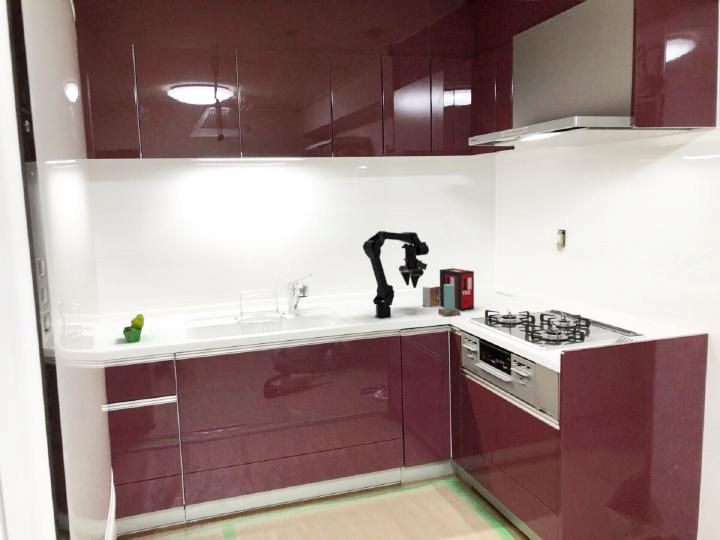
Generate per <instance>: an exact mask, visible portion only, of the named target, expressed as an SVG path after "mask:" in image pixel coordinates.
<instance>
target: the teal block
mask: <svg viewBox="0 0 720 540" xmlns="http://www.w3.org/2000/svg"><path fill="white" fill-rule="evenodd" d="M444 310H445V311H451V310H455V298H454V285H453V284H444Z"/></svg>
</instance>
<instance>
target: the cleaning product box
mask: <svg viewBox="0 0 720 540" xmlns="http://www.w3.org/2000/svg"><path fill="white" fill-rule="evenodd" d="M444 284H453V285H454V298H455V309H458V310H460V311H462V312H467V311H466V310H468V311H472V310H475V272H474V270H473V271H472V270H467V269H459V268H452V267H451V268H443V269H439V286H440V305H439V307H440V306H441V307H440V308H443V307H444Z"/></svg>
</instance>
